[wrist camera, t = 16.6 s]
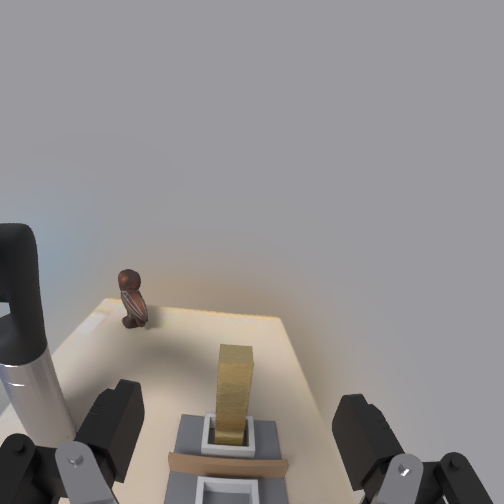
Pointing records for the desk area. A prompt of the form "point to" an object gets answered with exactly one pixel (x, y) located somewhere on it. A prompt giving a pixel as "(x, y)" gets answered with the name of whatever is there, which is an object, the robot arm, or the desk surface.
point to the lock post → (233, 393)
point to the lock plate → (225, 465)
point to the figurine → (132, 299)
